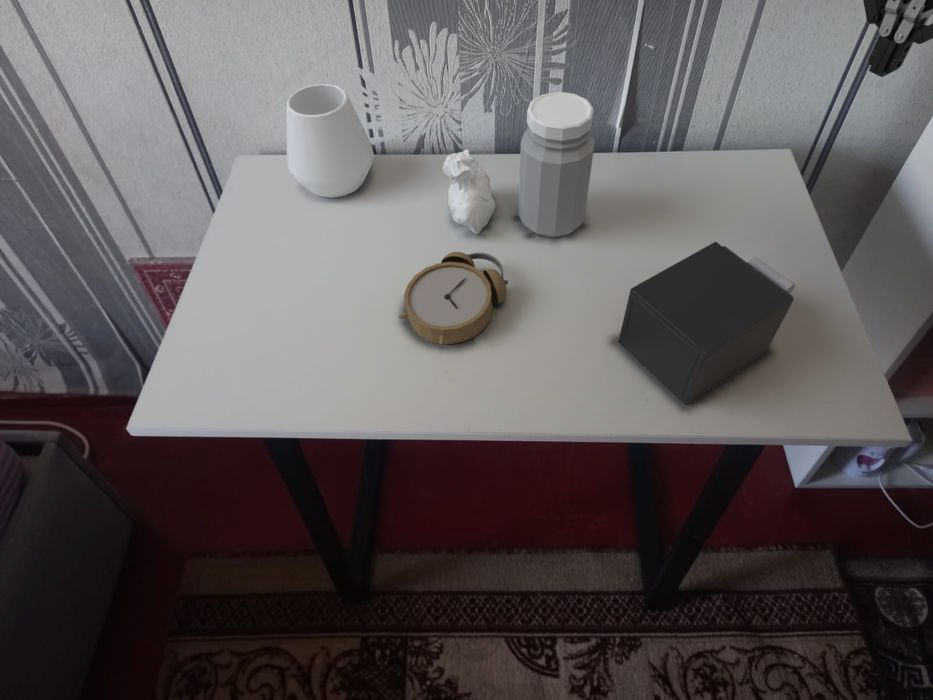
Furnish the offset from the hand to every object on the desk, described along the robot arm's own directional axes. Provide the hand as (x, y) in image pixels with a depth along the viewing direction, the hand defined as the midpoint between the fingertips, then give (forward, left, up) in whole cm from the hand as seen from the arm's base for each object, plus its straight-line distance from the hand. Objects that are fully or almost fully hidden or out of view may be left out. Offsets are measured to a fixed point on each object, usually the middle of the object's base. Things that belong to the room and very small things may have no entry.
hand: (880, 71), depth 69 cm
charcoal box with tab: (+13, +18, -27) cm, 35 cm away
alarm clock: (+43, +16, -27) cm, 54 cm away
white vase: (+68, -7, -27) cm, 74 cm away
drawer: (+11, +15, -26) cm, 32 cm away
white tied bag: (+45, -2, -27) cm, 53 cm away
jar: (+33, -3, -27) cm, 43 cm away
